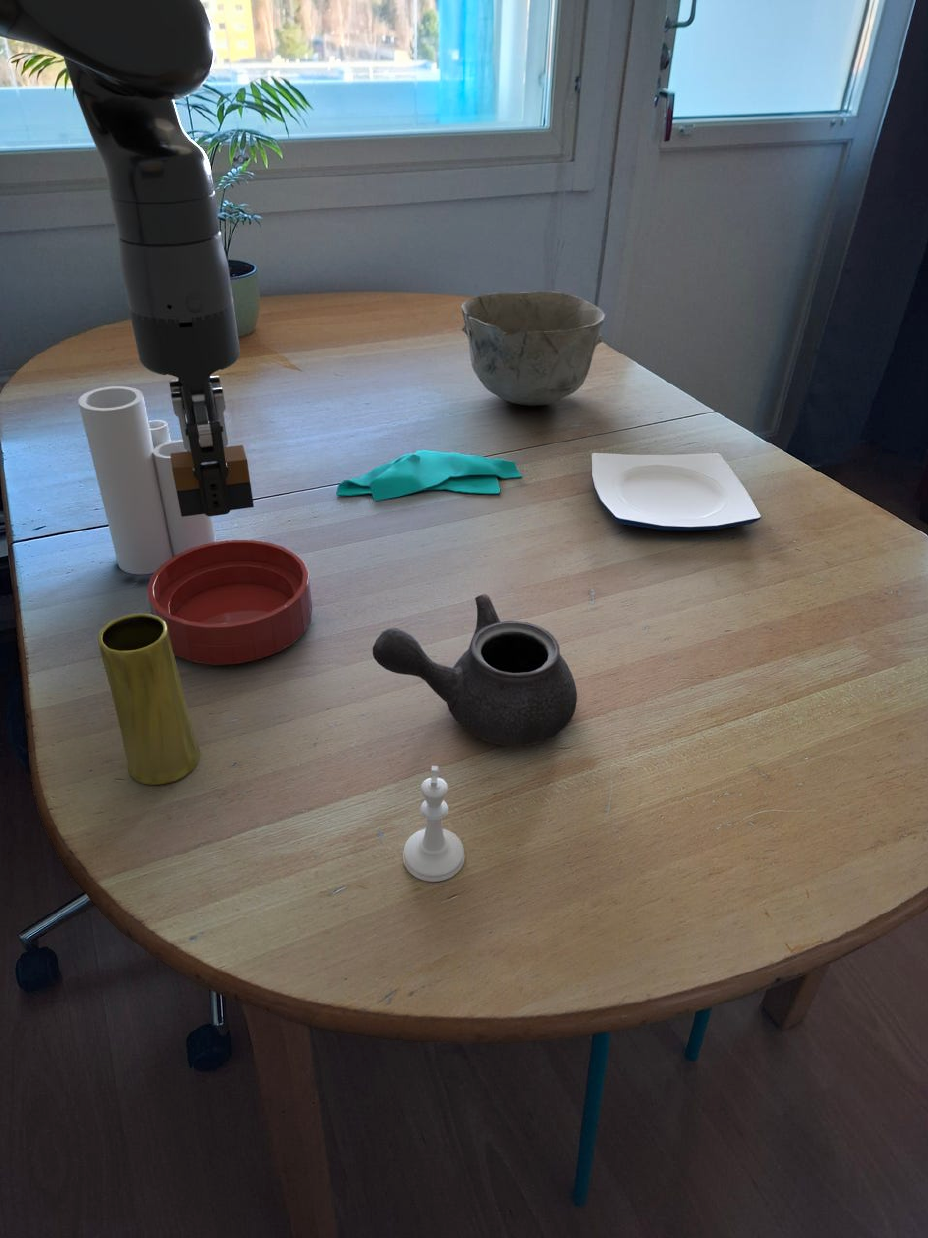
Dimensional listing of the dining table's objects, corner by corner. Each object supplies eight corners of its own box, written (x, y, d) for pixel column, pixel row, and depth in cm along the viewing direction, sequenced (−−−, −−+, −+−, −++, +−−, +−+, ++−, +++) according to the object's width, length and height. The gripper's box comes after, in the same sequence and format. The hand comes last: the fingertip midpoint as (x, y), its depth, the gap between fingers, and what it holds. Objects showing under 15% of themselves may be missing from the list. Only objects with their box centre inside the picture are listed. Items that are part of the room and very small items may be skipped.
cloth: (511, 451, 129) (512, 436, 128) (529, 495, 119) (530, 480, 117) (335, 457, 126) (334, 442, 125) (336, 503, 115) (335, 487, 114)
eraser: (181, 517, 73) (171, 468, 71) (179, 500, 76) (169, 452, 73) (254, 507, 75) (247, 459, 72) (249, 491, 77) (243, 444, 74)
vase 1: (120, 579, 100) (79, 414, 88) (115, 548, 105) (76, 388, 93) (221, 561, 103) (194, 400, 91) (211, 531, 109) (185, 376, 97)
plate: (766, 539, 111) (771, 521, 109) (607, 540, 110) (610, 522, 108) (720, 466, 127) (723, 449, 126) (581, 466, 126) (583, 449, 124)
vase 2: (116, 757, 77) (78, 629, 69) (180, 727, 81) (152, 600, 72) (147, 797, 74) (111, 667, 65) (212, 763, 77) (187, 635, 69)
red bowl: (162, 684, 85) (151, 639, 82) (153, 593, 98) (143, 552, 94) (326, 653, 90) (322, 610, 87) (297, 571, 102) (293, 530, 99)
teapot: (534, 641, 93) (541, 561, 87) (596, 739, 81) (609, 655, 75) (359, 673, 88) (354, 591, 82) (399, 783, 76) (396, 696, 70)
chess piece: (465, 833, 72) (468, 745, 66) (463, 883, 68) (467, 795, 62) (405, 831, 72) (403, 743, 66) (400, 881, 68) (397, 792, 62)
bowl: (442, 383, 150) (443, 294, 141) (554, 368, 157) (562, 282, 149) (496, 434, 134) (500, 337, 125) (618, 415, 141) (631, 321, 132)
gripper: (126, 275, 69) (166, 472, 79) (129, 333, 58) (175, 552, 69) (223, 269, 71) (249, 462, 81) (243, 324, 60) (271, 538, 71)
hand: (215, 502), depth 75 cm, fingers closed on eraser, 3 cm apart
